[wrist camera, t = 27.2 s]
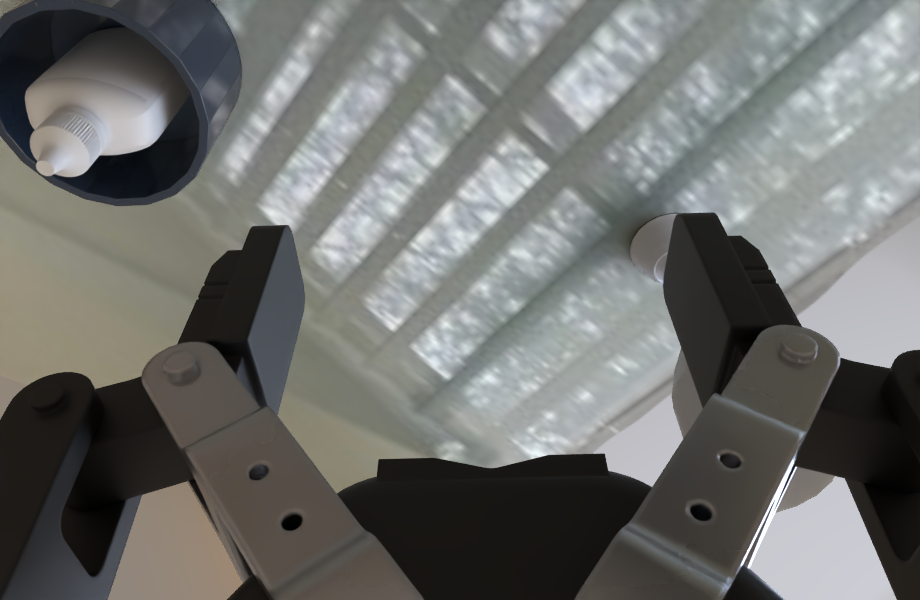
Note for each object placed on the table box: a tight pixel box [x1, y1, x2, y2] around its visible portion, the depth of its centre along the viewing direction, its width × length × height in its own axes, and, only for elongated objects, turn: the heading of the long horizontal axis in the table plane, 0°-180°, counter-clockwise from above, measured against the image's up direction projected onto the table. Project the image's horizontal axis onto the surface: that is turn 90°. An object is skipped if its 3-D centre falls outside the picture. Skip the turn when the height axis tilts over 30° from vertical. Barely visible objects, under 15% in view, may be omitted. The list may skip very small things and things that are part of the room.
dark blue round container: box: [0, 0, 242, 206], centre depth 36 cm, size 10×10×7 cm
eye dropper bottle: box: [25, 27, 191, 177], centre depth 33 cm, size 4×6×12 cm
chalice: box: [630, 214, 834, 513], centre depth 40 cm, size 7×7×18 cm
